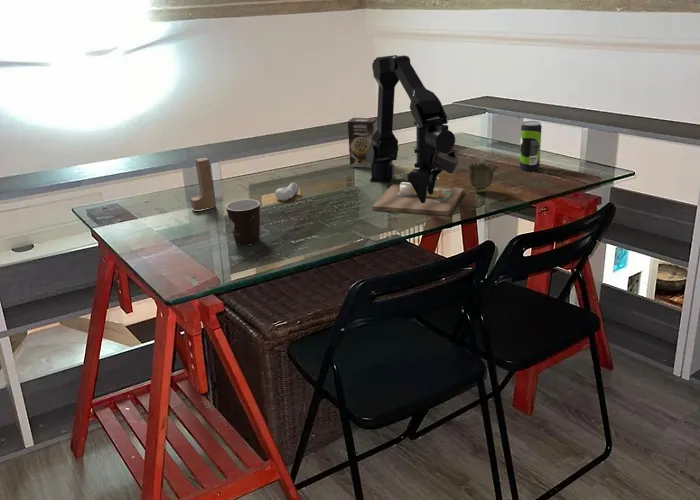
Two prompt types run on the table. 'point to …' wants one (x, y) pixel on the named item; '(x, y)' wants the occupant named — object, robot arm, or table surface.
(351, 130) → the coffee box
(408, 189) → the tuner pointer lever
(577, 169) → the table surface
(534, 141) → the beverage can
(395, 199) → the tuner board
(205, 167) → the wooden block
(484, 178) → the cup
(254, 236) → the coffee mug
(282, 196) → the pale two-lobed sculpture
